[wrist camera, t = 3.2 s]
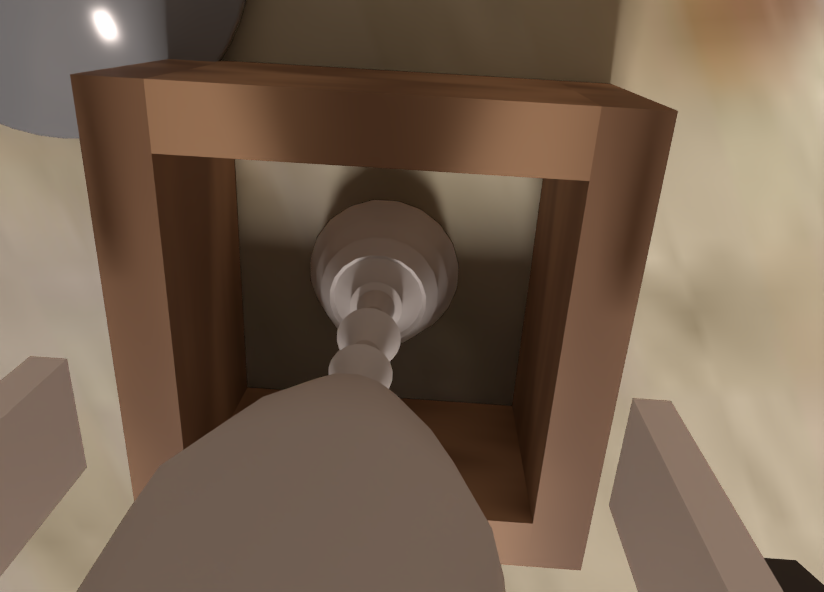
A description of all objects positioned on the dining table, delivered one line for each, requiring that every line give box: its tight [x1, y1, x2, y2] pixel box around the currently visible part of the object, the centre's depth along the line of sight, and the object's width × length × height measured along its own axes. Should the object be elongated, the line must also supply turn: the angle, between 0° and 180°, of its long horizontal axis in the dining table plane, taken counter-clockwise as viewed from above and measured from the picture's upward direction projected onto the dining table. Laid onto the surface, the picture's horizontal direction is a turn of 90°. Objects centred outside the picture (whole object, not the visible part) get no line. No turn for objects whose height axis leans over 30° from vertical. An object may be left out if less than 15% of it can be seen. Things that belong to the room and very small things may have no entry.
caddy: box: [70, 59, 678, 570], centre depth 19 cm, size 13×13×6 cm
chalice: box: [77, 200, 505, 592], centre depth 14 cm, size 7×7×18 cm
